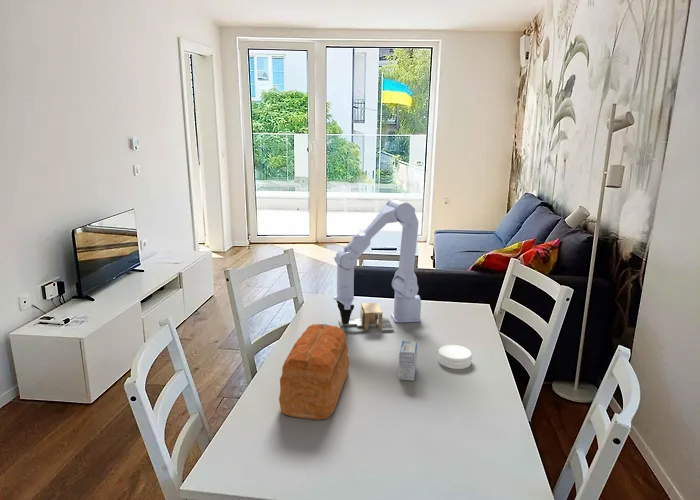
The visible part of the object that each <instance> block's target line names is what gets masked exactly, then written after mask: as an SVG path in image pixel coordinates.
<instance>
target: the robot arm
mask: <svg viewBox="0 0 700 500" xmlns="http://www.w3.org/2000/svg"><path fill="white" fill-rule="evenodd" d="M393 223H399V225H401V226H402V230H401V231H402V232H401V238H400V240H401V242H400V251H399V252H400V253H399V261H398V262H399V263H398V269H397V270H395V271H394V272H395V273H394V277H393V279H392V281H391V287H392V290H394V296H393V297H394V298H393V299H394V303H393V304H394V305H393V312H391V313H390V315H391V317H392V319H393V321H394V323H417V322H422V321H421V320H422V319H421V308H422V303H421V300H422V299H421V296H420V295H419V294H418V293H419V285H418V278H417V275H416V273H415V261H416V252H417V242H418V231H419V219H418V218H417V214H416V208H415V207H414V206H413V205H412V204H410V203H409V202H405V201H401V200H399V199H397V198H390V199H389V200H388V201H387V202H386V204H384V205H383V206H382V207H381V210H380V211H379V212H378V214H377V215H376V217H375V218H374V219H373V220H372V222H370V224H369V225H368V226H367V228H365V230H364V231H363V232H359V233H356V234H354V235H352V239H351V240H350V241H349V243H348V244H347V245H344V246H343V249H340V250H338V251H337V253H336V254H335V256H334V262H335V263H336V265H337V266H336V268H337V270H336V295H334V296H333V300H336V303H337V308H338V311H339V313H340V319H342V323H343V324H348V323H349V320H350V319H351V315H352V313H353V311H354V309H355V305H354V304H353V301H354V300H355V296H354V294H355V293H354V292H355V290H354V286H355V285H354V283H355V282H354V280H355V278H354V277H355V266H356V265H357V263H358V259H359V257H360V256H361V255H362V254H363V253H364V252H365V251H366V250H367V249H368V248H369V247H370V246H371V240H372V239H373V238H374V237H375V236H376V234H378V233H379V232H380V231H381V230H382V229H383V228H384V227H385V226H386V225H387V224H393Z"/></svg>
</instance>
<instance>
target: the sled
mask: <svg viewBox="0 0 700 500" xmlns="http://www.w3.org/2000/svg"><path fill="white" fill-rule="evenodd" d="M359 316H360V319H358V318H354V319H355V321H349V323H348V324H343V323H342V319H341V318H340V319H341V323H342V325H343V326H348V325H357V327H364V324H365V313H364V311H363V309H361V308H360V315H359ZM369 326H378V318H375V315H369V320H368V327H369Z"/></svg>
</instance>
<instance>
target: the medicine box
mask: <svg viewBox="0 0 700 500" xmlns="http://www.w3.org/2000/svg"><path fill="white" fill-rule="evenodd" d="M417 351H418V342H417V341H416V340H415V341H414V340H405V339H403V340H402V342H401V346H400V349H399V353H398V355H399V356H398V380H402V381H411V382H412V381H413V382H414V381H415V377H416V370H417V356H418V355H417V353H418V352H417Z"/></svg>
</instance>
